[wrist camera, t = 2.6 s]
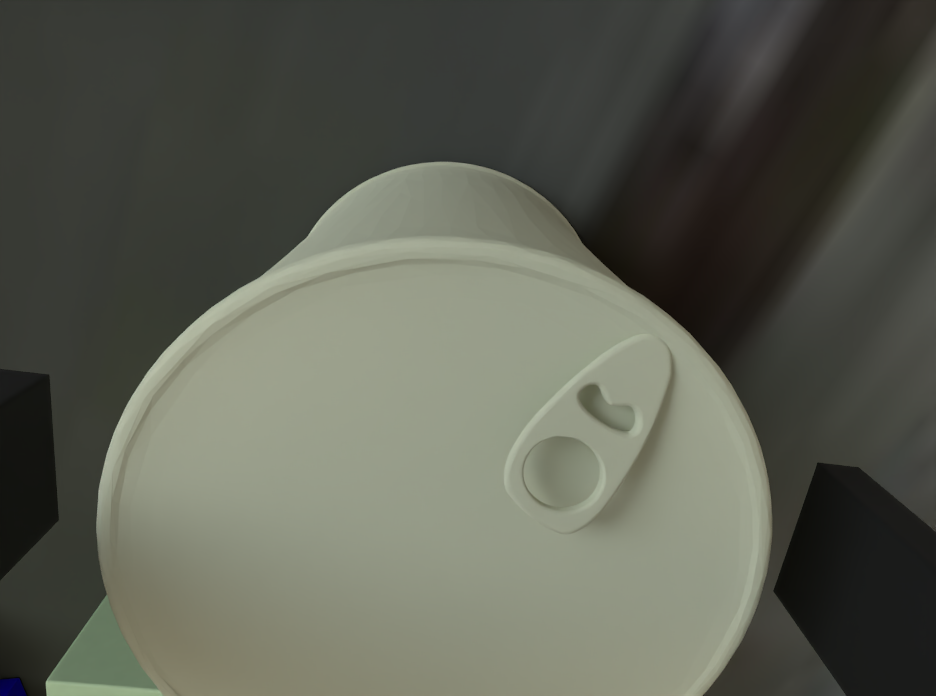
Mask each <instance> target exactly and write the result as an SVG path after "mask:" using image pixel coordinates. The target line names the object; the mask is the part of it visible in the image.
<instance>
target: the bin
mask: <svg viewBox="0 0 936 696" xmlns="http://www.w3.org/2000/svg"><path fill="white" fill-rule="evenodd" d="M46 692H47V696H164V695H163V694H162V693H161V692H160V690H159V689H158V688H157V686H156V685H155V684H154V683H153V681H152V680H151V679H150V677H149V676H148V675H147V674H146V672H145V671H144V670H143V669H142V667H141V666H140V664H139V662H138V661H137V659H136V657H135V656H134V654H133V652H132V650H131V649H130V647H129V645H128V644H127V642H126V640H125V638H124V637H123V635H122V633H121V630H120V628H119V626H118V623H117V621H116V618H115V616H114V614H113V611H112V609H111V607H110V603H109V600H108V596H106V597H105V598H104V600H103V601H102V603H101V604H100V605H99V607H98V608H97V610H96V611H95V612H94V614H93V615H92V617H91V618H90V620H89V621H88V622H87V624H86V625H85V627H84V628H83V629H82V631H81V632H80V634H79V635H78V637H77V638H76V639H75V641H74V642H73V644H72V645H71V646H70V648H69V649H68V651H67V652H66V654H65V655H64V656H63V658H62V659H61V661H60V662H59V663H58V665H57V666H56V668H55V669H54V671H53V672H52V673H51V675H50V676H49V678H48V679H47V681H46Z"/></svg>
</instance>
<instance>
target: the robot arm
mask: <svg viewBox="0 0 936 696" xmlns="http://www.w3.org/2000/svg"><path fill="white" fill-rule="evenodd" d="M58 520H59V518H58V502H57V487H56V471H55V456H54V441H53V425H52V410H51V394H50V379H49V375H47V374H38V373H30V372H21V371H12V370H4V369H0V580H1V579H2V578H3V577H4V576H5V575H6V574H7V573H8V572H9V571H10V570H11V569H12V568H13V567H14V566H15V564H16V563H17V562H18V561H19V560H20V559H21V558H22V557H23V556H24V555H25V554H26V553H27V552H28V551H29V550H30V549H31V548H32V547H33V546H34V545H35V544H36V543H37V542H38V541H39V540H40V539H41V538H42V537H43V536H44V535H45V534H46V533H47V532H48V531H49V530H50V529H51V528H52V527H53V525H54V524H55V523H56V522H57V521H58ZM774 593H775V594H776V595H777V597H778V598H779V600H780V601H781V603H782V604H783V605H784V607H785V608H786V610H787V611H788V613H789V614H790V615H791V617H792V618H793V620H794V621H795V623H796V624H797V626H798V627H799V628H800V630H801V631H802V633H803V634H804V636H805V637H806V638H807V640H808V641H809V643H810V644H811V646H812V647H813V648H814V650H815V651H816V653H817V654H818V656H819V657H820V659H821V660H822V661H823V663H824V664H825V666H826V667H827V669H828V670H829V671H830V673H831V674H832V676H833V677H834V679H835V680H836V681H837V683H838V684H839V686H840V687H841V689H842V690H843V691H844V693H845V694H846V696H936V532H935V531H934V530H933V529H931V528H930V527H929V526H928V525H927V524H926V523H924V522H923V521H922V520H921V519H920V518H918V517H917V516H916V515H915V514H914V513H912V512H911V511H910V510H909V509H908V508H906V507H905V506H904V505H903V504H902V503H900V502H899V501H898V500H897V499H896V498H894V497H893V496H892V495H891V494H890V493H889V492H887V491H886V490H885V489H884V488H883V487H881V486H880V485H879V484H878V483H877V482H875V481H874V480H873V479H872V478H871V477H869V476H868V475H867V474H866V473H865V472H863V471H862V470H861V469H860V468H859V467H850V466H842V465H833V464H824V463H817V466H816V469H815V472H814V475H813V478H812V481H811V484H810V486H809V489H808V492H807V495H806V498H805V501H804V504H803V507H802V510H801V513H800V515H799V518H798V521H797V524H796V527H795V530H794V533H793V536H792V539H791V542H790V544H789V547H788V550H787V553H786V556H785V559H784V562H783V565H782V568H781V571H780V573H779V576H778V579H777V582H776V585H775V588H774Z"/></svg>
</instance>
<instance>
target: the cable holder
mask: <svg viewBox="0 0 936 696" xmlns="http://www.w3.org/2000/svg"><path fill="white" fill-rule="evenodd" d="M0 696H27V695H26V693H25V691H24V688H23V686H22V684H21V681H20V679H19V678H12V679H2V680H0Z"/></svg>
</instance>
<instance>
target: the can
mask: <svg viewBox="0 0 936 696" xmlns="http://www.w3.org/2000/svg"><path fill="white" fill-rule="evenodd" d="M96 531H97V544H98V557H99V563H100V568H101V573H102V578H103V581H104V585H105V589H106V592H107V596H108V600H109V603H110V607H111V609H112V611H113V614H114V616H115V618H116V621H117V623H118V626H119V628H120V630H121V633H122V635H123V637H124V638H125V640H126V642H127V644H128V645H129V647H130V649H131V650H132V652H133V654H134V656H135V657H136V659H137V661H138V662H139V664H140V666H141V667H142V669H143V670H144V671H145V672H146V674H147V675H148V676H149V677H150V679H151V680H152V681H153V683H154V684H155V685H156V686H157V688H158V689H159V690H160V692H161V693H162V694H163V695H164V696H703V694H704V693H705V692H706V691H707V690H708V689H709V688H710V686H711V685H712V684H713V683H714V681H715V680H716V679H717V677H718V676H719V675H720V674H721V672H722V671H723V670H724V668H725V667H726V665H727V663H728V662H729V660H730V659H731V657H732V656H733V654H734V653H735V651H736V649H737V648H738V646H739V645H740V643H741V642H742V639H743V637H744V635H745V633H746V631H747V629H748V627H749V624H750V622H751V620H752V618H753V615H754V613H755V610H756V608H757V606H758V603H759V600H760V596H761V593H762V589H763V585H764V582H765V578H766V575H767V570H768V564H769V558H770V549H771V540H772V508H771V495H770V486H769V481H768V476H767V471H766V466H765V462H764V458H763V454H762V451H761V447H760V444H759V441H758V438H757V436H756V433H755V431H754V428H753V426H752V424H751V421H750V419H749V416H748V414H747V412H746V410H745V409H744V407H743V405H742V403H741V401H740V400H739V398H738V396H737V394H736V392H735V391H734V389H733V387H732V385H731V384H730V382H729V381H728V379H727V378H726V376H725V375H724V373H723V372H722V371H721V369H720V368H719V366H718V365H717V364H716V363H715V362H714V361H713V359H712V358H711V357H710V356H709V355H708V354H707V352H706V351H705V350H704V349H703V348H702V347H701V346H700V344H699V343H698V342H697V341H696V340H695V339H694V338H693V336H692V335H691V334H690V333H689V332H688V331H686V330H685V329H684V328H683V327H682V326H681V325H680V324H679V323H677V322H676V321H675V320H674V319H673V318H672V317H671V316H670V315H669V314H667V313H666V312H665V311H663V310H662V309H661V308H659V307H658V306H657V305H655V304H654V303H653V302H651V301H650V300H649V299H647V298H646V297H644V296H643V295H641V294H640V293H638V292H636V291H635V290H633V289H631V288H630V287H628V286H627V285H626V284H625V283H623V282H622V281H621V280H620V279H619V278H618V277H617V276H616V275H615V274H614V273H612V272H611V271H610V270H609V269H608V268H607V267H606V266H605V265H604V264H603V263H602V262H601V261H600V260H599V259H597V258H596V257H595V256H594V255H593V254H592V253H591V252H590V251H589V250H588V249H587V248H586V247H585V246H584V245H583V244H582V242H581V240H580V238H579V237H578V235H577V233H576V232H575V230H574V229H573V228H572V226H571V225H570V224H569V222H568V221H567V220H566V218H565V217H564V216H563V215H562V214H561V213H560V212H559V211H558V210H557V209H556V208H555V207H554V206H553V205H552V204H551V203H550V202H549V201H548V200H547V199H545V198H544V197H543V196H541V195H540V194H539V193H537V192H536V191H535V190H533V189H532V188H530V187H529V186H527V185H525V184H523V183H522V182H520V181H518V180H516V179H514V178H512V177H510V176H508V175H506V174H503V173H501V172H498V171H495V170H492V169H489V168H485V167H481V166H477V165H472V164H465V163H457V162H429V163H420V164H413V165H408V166H404V167H400V168H396V169H394V170H391V171H388V172H385V173H383V174H380V175H378V176H376V177H373V178H371V179H369V180H367V181H365V182H363V183H362V184H360V185H358V186H357V187H355V188H354V189H352V190H351V191H349V192H348V193H347V194H345V195H344V196H343V197H342V198H340V199H339V200H338V201H337V202H336V203H335V204H334V205H332V206H331V207H330V208H329V209H328V211H327V212H326V213H325V214H324V215H323V216H322V217H321V218H320V220H319V221H318V222H317V224H316V225H315V226H314V228H313V229H312V230H311V232H310V234H309V235H308V237H307V238H306V239H305V240H303V241H302V242H301V243H300V244H299V245H298V246H297V247H296V248H294V249H293V250H292V251H291V252H290V253H289V254H288V255H286V256H285V257H284V258H283V259H282V260H281V261H279V262H278V263H277V264H276V265H275V266H273V267H272V268H271V269H270V270H268V271H267V272H266V273H265V274H264V275H262V276H261V277H260V278H258V279H256V280H254V281H253V282H251V283H249V284H247V285H245V286H243V287H242V288H240V289H238V290H237V291H235V292H234V293H232V294H231V295H229V296H228V297H226V298H225V299H223V300H222V301H220V302H219V303H218V304H216V305H215V306H213V307H212V308H210V309H209V310H208V311H207V312H205V313H204V314H203V315H202V316H201V317H200V318H198V319H197V320H196V321H195V322H194V323H193V324H192V325H190V326H189V327H188V328H187V329H186V330H185V331H184V332H183V333H182V334H181V335H180V336H179V337H178V338H177V339H176V340H175V341H174V342H173V343H172V344H171V345H170V346H169V347H168V348H167V349H166V350H165V351H164V352H163V354H162V355H161V356H160V357H159V359H158V360H157V361H156V362H155V364H154V365H153V366H152V367H151V369H150V370H149V371H148V373H147V374H146V375H145V377H144V378H143V380H142V382H141V383H140V385H139V386H138V388H137V389H136V391H135V392H134V394H133V396H132V397H131V399H130V401H129V403H128V404H127V406H126V408H125V410H124V412H123V414H122V417H121V419H120V421H119V423H118V425H117V427H116V429H115V431H114V434H113V437H112V440H111V443H110V446H109V449H108V452H107V456H106V460H105V464H104V469H103V473H102V477H101V481H100V486H99V494H98V509H97V523H96Z"/></svg>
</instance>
